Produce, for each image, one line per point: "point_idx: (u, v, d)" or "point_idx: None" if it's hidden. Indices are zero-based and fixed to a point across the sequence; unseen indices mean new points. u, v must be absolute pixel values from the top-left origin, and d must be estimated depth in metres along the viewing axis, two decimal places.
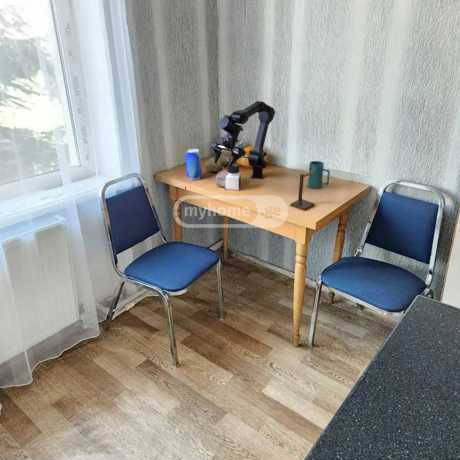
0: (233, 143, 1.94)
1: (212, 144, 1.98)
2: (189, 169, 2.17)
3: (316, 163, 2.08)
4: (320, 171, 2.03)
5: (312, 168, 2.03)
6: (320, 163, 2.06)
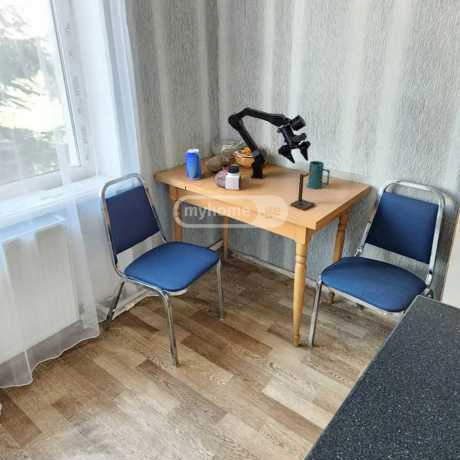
0: None
1: (286, 146, 2.00)
2: (189, 169, 2.17)
3: (316, 163, 2.08)
4: (320, 171, 2.03)
5: (312, 168, 2.03)
6: (320, 163, 2.06)
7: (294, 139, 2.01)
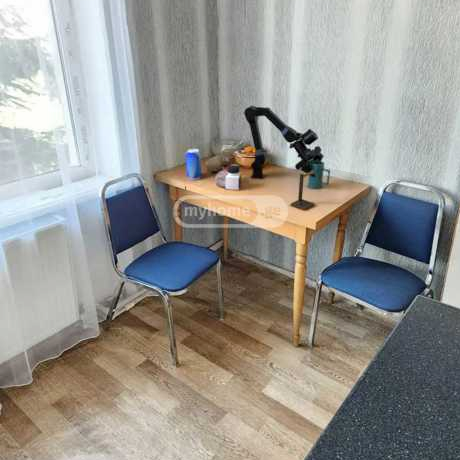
0: None
1: (304, 161, 2.00)
2: (189, 169, 2.17)
3: (317, 162, 2.08)
4: (320, 171, 2.03)
5: (312, 167, 2.03)
6: (320, 163, 2.07)
7: (310, 153, 2.02)
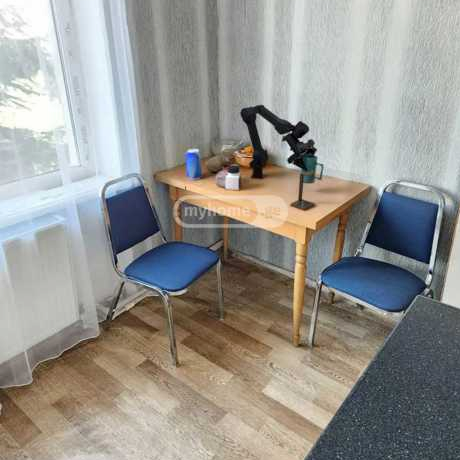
0: None
1: (296, 155, 1.91)
2: (189, 169, 2.17)
3: (310, 156, 1.99)
4: (313, 165, 1.94)
5: (305, 162, 1.94)
6: (314, 157, 1.98)
7: (303, 146, 1.93)
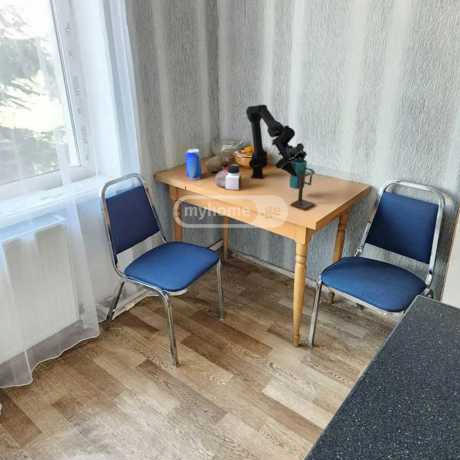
0: None
1: (285, 159, 1.85)
2: (189, 169, 2.17)
3: (299, 161, 1.93)
4: (302, 170, 1.88)
5: (294, 166, 1.88)
6: (303, 161, 1.91)
7: (292, 151, 1.87)
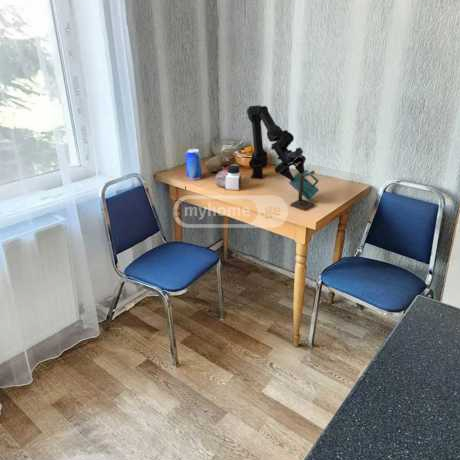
0: None
1: (284, 164, 1.86)
2: (189, 169, 2.17)
3: None
4: None
5: (293, 183, 1.90)
6: None
7: (291, 155, 1.88)
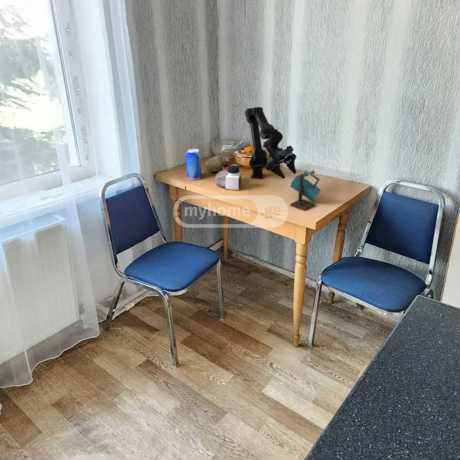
0: None
1: (274, 162, 1.89)
2: (189, 169, 2.17)
3: None
4: None
5: (295, 185, 1.89)
6: None
7: (281, 153, 1.92)
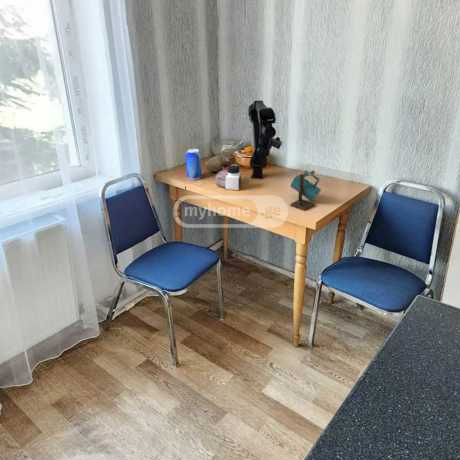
0: None
1: (269, 151, 1.94)
2: (189, 169, 2.17)
3: None
4: None
5: (295, 185, 1.89)
6: None
7: (274, 144, 1.97)
